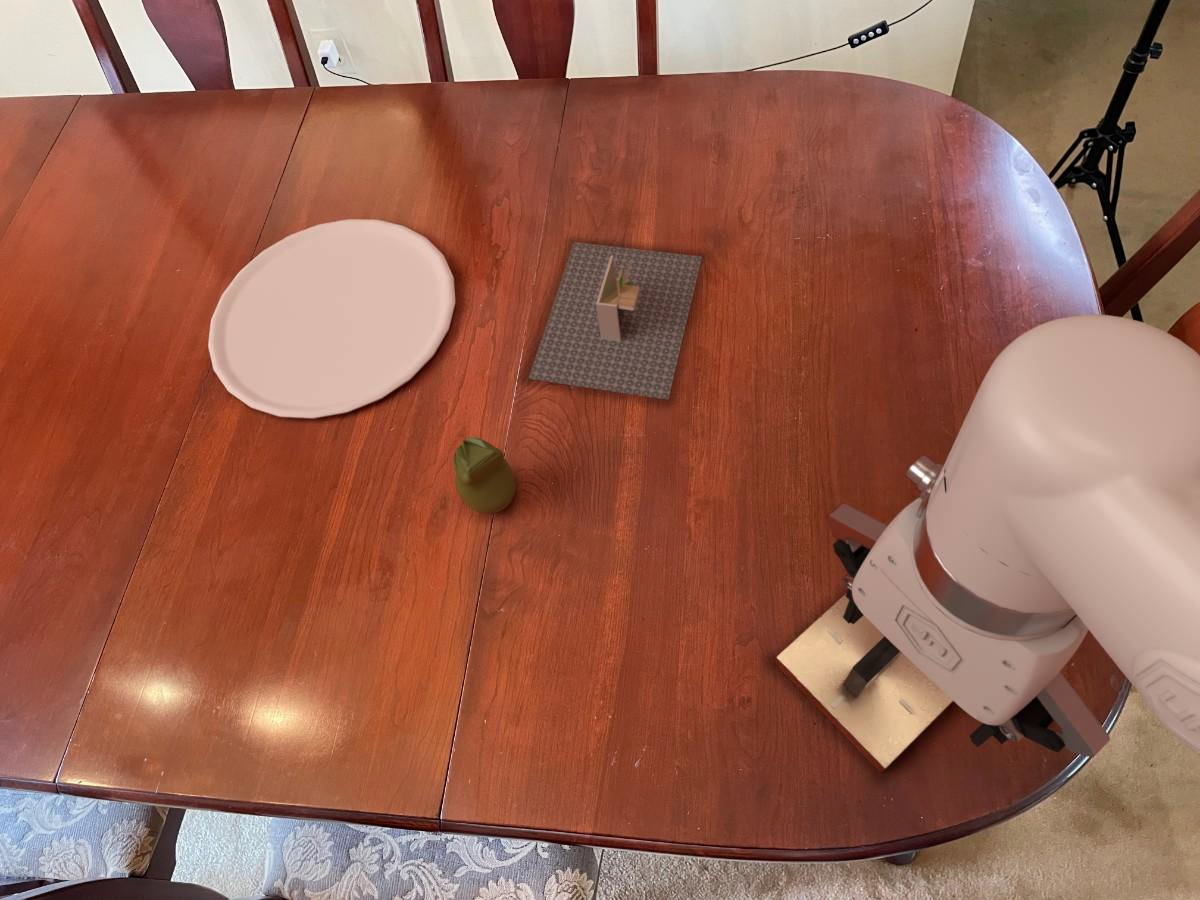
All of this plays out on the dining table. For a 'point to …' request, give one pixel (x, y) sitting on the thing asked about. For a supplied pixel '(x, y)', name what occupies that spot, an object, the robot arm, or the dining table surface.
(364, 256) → the plate
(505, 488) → the pear
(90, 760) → the dining table surface
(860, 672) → the lock knob
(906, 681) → the plate
